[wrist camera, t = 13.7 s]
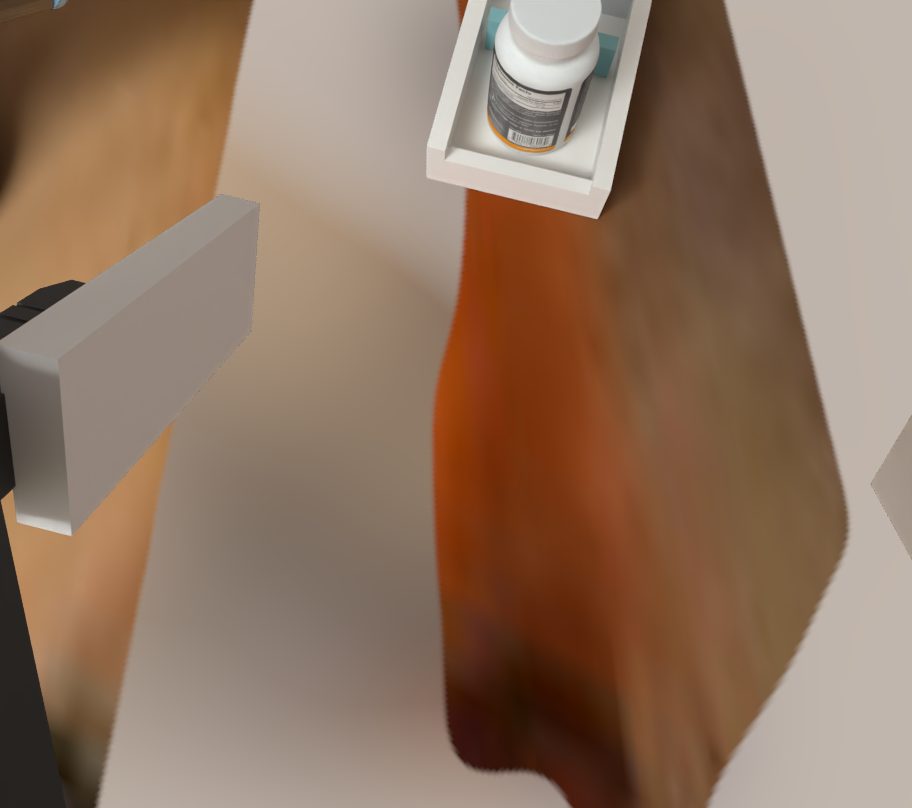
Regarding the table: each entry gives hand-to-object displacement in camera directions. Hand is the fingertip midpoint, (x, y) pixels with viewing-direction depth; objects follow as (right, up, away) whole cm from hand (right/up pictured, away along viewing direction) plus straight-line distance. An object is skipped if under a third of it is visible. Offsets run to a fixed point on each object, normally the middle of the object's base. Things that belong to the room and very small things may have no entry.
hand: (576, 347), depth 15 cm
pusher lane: (+3, +19, +35) cm, 40 cm away
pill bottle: (+2, +17, +34) cm, 38 cm away
